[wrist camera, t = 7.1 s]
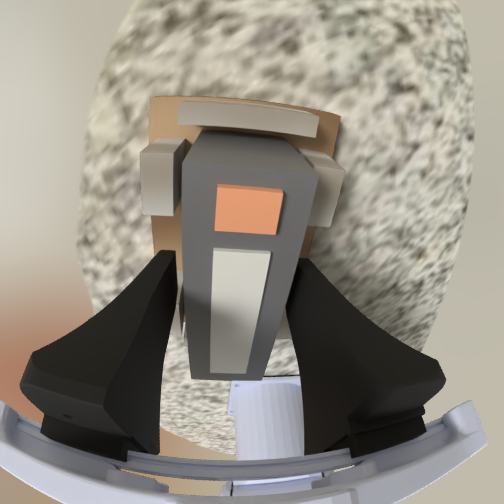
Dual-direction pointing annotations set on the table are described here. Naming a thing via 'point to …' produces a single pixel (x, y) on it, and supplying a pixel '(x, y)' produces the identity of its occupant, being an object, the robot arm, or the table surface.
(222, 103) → the mounting board
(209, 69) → the table surface
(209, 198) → the grey rectangular block
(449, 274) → the table surface
